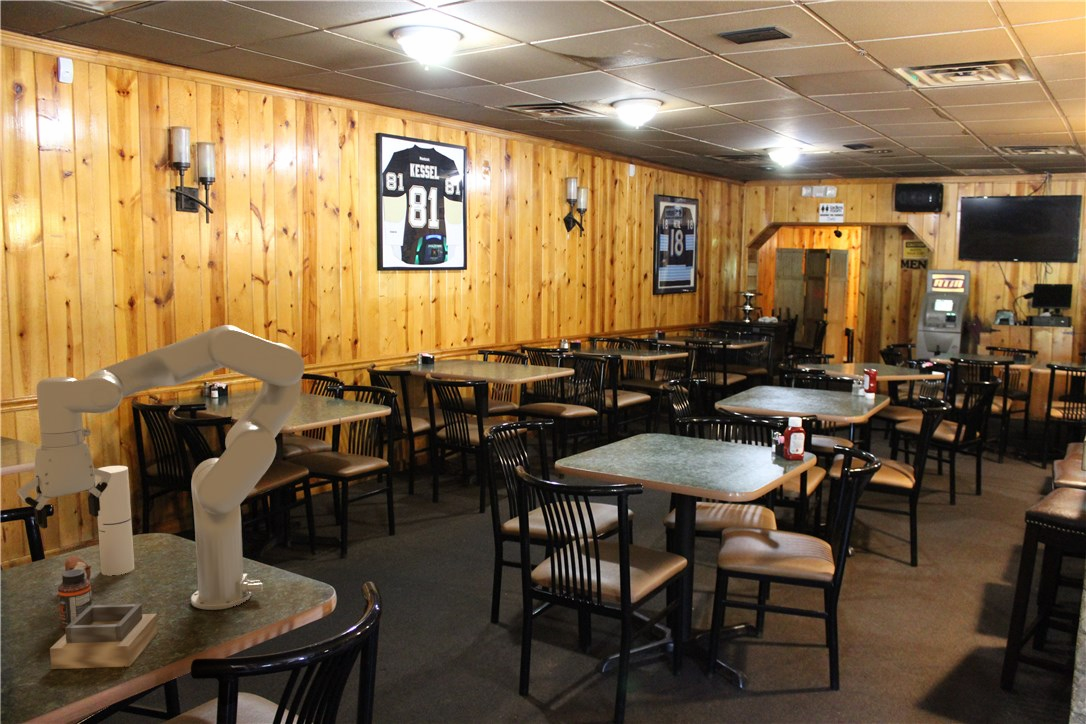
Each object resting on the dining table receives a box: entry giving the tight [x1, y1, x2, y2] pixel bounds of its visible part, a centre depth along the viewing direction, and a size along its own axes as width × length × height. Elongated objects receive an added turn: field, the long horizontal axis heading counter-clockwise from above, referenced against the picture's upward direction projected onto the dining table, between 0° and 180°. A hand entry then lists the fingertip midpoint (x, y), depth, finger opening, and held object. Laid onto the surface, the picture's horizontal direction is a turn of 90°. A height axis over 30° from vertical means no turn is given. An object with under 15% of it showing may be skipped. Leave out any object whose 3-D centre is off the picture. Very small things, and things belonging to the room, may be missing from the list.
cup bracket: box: [49, 603, 159, 670], centre depth 163 cm, size 14×14×7 cm
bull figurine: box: [64, 555, 93, 596], centre depth 190 cm, size 4×13×8 cm, turn 36°
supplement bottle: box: [57, 569, 93, 630], centre depth 174 cm, size 6×6×11 cm
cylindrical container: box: [94, 465, 135, 577], centre depth 202 cm, size 7×7×25 cm
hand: (68, 521), depth 172 cm, fingers open, 9 cm apart
